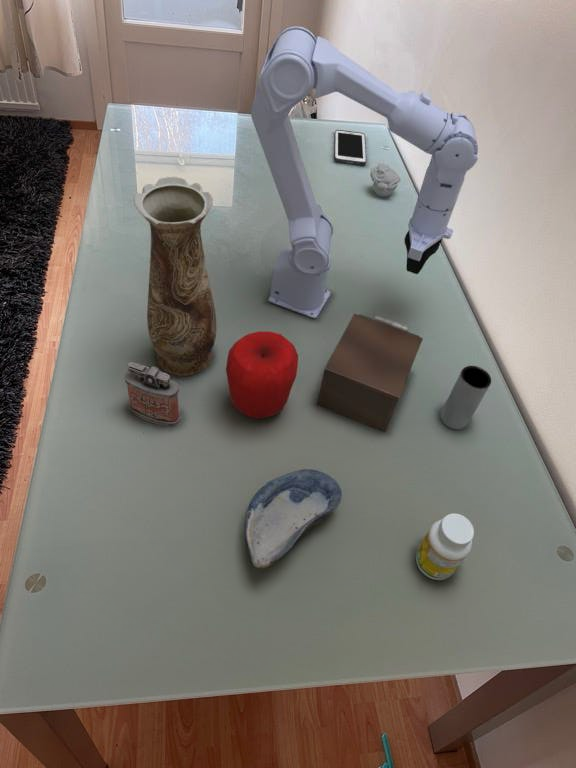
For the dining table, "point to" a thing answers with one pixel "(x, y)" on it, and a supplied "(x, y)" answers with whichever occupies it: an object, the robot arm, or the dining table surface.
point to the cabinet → (368, 371)
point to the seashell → (287, 512)
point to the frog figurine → (384, 179)
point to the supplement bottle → (445, 546)
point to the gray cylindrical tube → (465, 397)
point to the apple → (261, 373)
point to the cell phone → (350, 147)
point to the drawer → (391, 323)
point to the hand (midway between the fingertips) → (413, 270)
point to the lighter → (152, 395)
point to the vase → (178, 275)
